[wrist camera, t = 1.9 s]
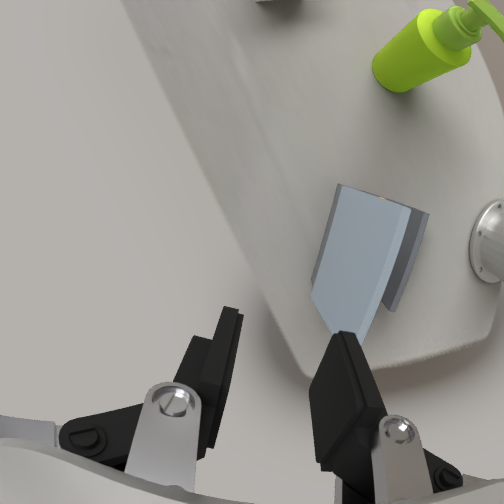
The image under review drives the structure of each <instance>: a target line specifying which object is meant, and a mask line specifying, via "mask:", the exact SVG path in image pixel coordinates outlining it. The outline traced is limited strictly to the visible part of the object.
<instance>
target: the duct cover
mask: <svg viewBox="0 0 504 504" xmlns="http://www.w3.org/2000/svg"><path fill="white" fill-rule="evenodd" d="M410 213H411V209H410V208H407V207H405V206H402V205H399V204H396V203H394V202H391V201H388V200H385V199H382V198H379V197H376V196H373V195H370V194H367V193H364V192H361V191H358V190H355V189H352V188H349V187H346V186H342V188H341V192H340V196H339V200H338V204H337V207H336V211H335V215H334V218H333V222H332V226H331V229H330V233H329V236H328V240H327V243H326V247H325V250H324V253H323V257H322V260H321V263H320V267H319V270H318V273H317V276H316V280H315V283H314V286H313V289H312V292H311V295H310V298H311V300H312V301H313V303H314V305H315V306H316V308H317V310H318V311H319V313H320V315H321V317H322V318H323V320H324V322H325V323H326V325H327V327H328V328H329V330H330V332H331V334H332V335H333V334H334V333H338V332H339V331H340V330H342V331H348V332H354V333H355V334H356V336H357V339H358V341H359V344H360V346H361V345H362V343H363V340H364V338H365V336H366V334H367V332H368V329H369V327H370V325H371V322H372V320H373V318H374V315H375V313H376V311H377V308H378V306H379V303H380V301H381V298H382V296H383V293H384V291H385V288H386V285H387V283H388V280H389V277H390V275H391V272H392V269H393V266H394V263H395V261H396V258H397V255H398V252H399V249H400V246H401V243H402V239H403V236H404V233H405V230H406V227H407V223H408V220H409V216H410Z"/></svg>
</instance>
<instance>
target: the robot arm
mask: <svg viewBox="0 0 504 504" xmlns="http://www.w3.org/2000/svg"><path fill="white" fill-rule="evenodd" d="M470 260H471V265H472V267H473V270H474V272H475V273H476V275H477V276H478V277H479V278H480V279H482V280H483V281H485V282H488V283H496V282H499V281H501V280H502V281H504V200H496V201H494V202H492V203H490V204H489V205H488V206H486V207H485V209H484V210H483V211H482V212H481V214H480V215H479V217H478V219H477V221H476V223H475V225H474V228H473V231H472V235H471V240H470ZM238 311H239V309H235V308H231V307H226V306H224V307H223V310H222V313H221V316H220V319H219V322H218V325H217V328H216V331H215V334H214V336H213V340H210V339H207V338H202V337H198V336H195V335H194V336H193V338H192V339H191V342H190V344H189V346H188V348H187V351H186V353H185V355H184V357H183V360H182V362H181V364H180V367H179V369H178V371H177V374H176V376H175V378H174V380H173V382H164V383H160V384H157V385H154V386H153V387H152V388H151V389H149V391H148V393H147V395H146V398H145V401H144V403H142V404H138V405H134V406H130V407H126V408H122V409H118V410H114V411H109V412H105V413H100V414H96V415H91V416H86V417H81V418H76V419H73V420H70V421H68V422H67V423H65V424H64V425H63V426H60V425H55V423H54V422H51V421H40V420H31V419H22V418H15V417H8V416H2V415H0V504H253V503H245V502H238V501H231V500H225V499H219V498H214V497H209V496H204V495H199V494H195V493H194V485H195V472H196V471H195V470H196V461H197V460H199V459H202V458H204V457H205V453H206V448H212V449H213V448H214V446H215V442H216V438H217V434H218V430H219V427H220V423H221V419H222V415H223V411H224V407H225V404H226V400H227V396H228V392H229V387H230V383H231V378H232V372H233V368H234V363H235V358H236V353H237V348H238V342H239V337H240V332H241V327H242V322H243V316H244V315H243V314H239V313H238ZM309 400H310V409H311V417H312V426H313V436H314V446H315V456H316V462H317V463H320V464H321V471H328V472H333V473H334V474H335V475H336V479H335V501H334V504H504V479H491V480H486V479H481V478H477V477H473V476H470V475H466V474H463V475H461V473H460V472H459V471H458V469H456V468H455V467H454V466H452V465H451V464H449V463H447V462H446V461H443V460H442V459H441V458H439V457H437V456H435V455H433V454H432V453H430V452H429V451H427V450H426V449H424V448H422V444H421V440H420V436H419V433H418V430H417V428H416V426H415V425H414V424H413V423H412V422H411V421H410V420H408V419H407V418H405V417H403V416H399V415H388V414H387V411H386V409H385V406H384V403H383V401H382V398H381V396H380V393H379V390H378V388H377V385H376V383H375V380H374V378H373V375H372V373H371V370H370V368H369V365H368V363H367V360H366V358H365V355H364V353H363V351H362V348H361V346H360V344H359V341H358V339H357V336H356V334H355V333H354V332H348V331H342V330H340V331H339V332H338V333H334V334H333V335H332V337H331V340H330V342H329V344H328V347H327V349H326V352H325V354H324V356H323V359H322V361H321V363H320V365H319V368H318V370H317V372H316V374H315V377H314V379H313V381H312V383H311V386H310V388H309Z"/></svg>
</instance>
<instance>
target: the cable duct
mask: <svg viewBox="0 0 504 504" xmlns="http://www.w3.org/2000/svg"><path fill="white" fill-rule="evenodd" d="M342 186H344V185H340V184H338V185H337V189H336V193H335V197H334V201H333V205H332V208H331V212H330V216H329V220H328V223H327V227H326V230H325V234H324V237H323V241H322V244H321V248H320V251H319V255H318V258H317V261H316V265H315V268H314V271H313V275H312V278H311V281H312V284H313V286H314V283H315V280H316V276H317V273H318V270H319V267H320V263H321V260H322V257H323V253H324V250H325V247H326V243H327V240H328V236H329V233H330V229H331V226H332V222H333V218H334V215H335V211H336V207H337V204H338V200H339V196H340V192H341V188H342ZM346 187H347V186H346ZM349 188H350V187H349ZM352 189H354V188H352ZM355 190H357V189H355ZM358 191H360V190H358ZM361 192H364V191H361ZM364 193H367V192H364ZM367 194H370V193H367ZM370 195H373V194H370ZM373 196H376V197H379V198H382V199H385V200H388V201H391V202H394V203H396V204H399V205H402V206H405V207H407V208H410V209H411V213H410V216H409V220H408V223H407V227H406V230H405V233H404V236H403V239H402V243H401V246H400V249H399V252H398V255H397V258H396V261H395V263H394V266H393V269H392V272H391V275H390V277H389V280H388V283H387V285H386V288H385V291H384V293H383V296H382V298H381V301H382V302H383V303H384V305H385V306H386V308H387V309H388V310H389V311H390V312H395V310H396V308H397V306H398V303H399V301H400V298H401V296H402V293H403V291H404V288H405V286H406V283H407V281H408V278H409V275H410V273H411V270H412V267H413V264H414V262H415V259H416V256H417V253H418V250H419V247H420V244H421V241H422V238H423V234H424V231H425V228H426V225H427V221H428V218H429V214H428V213H425V212H423V211H420V210H418V209H415V208H412V207H410V206H407V205H404V204H401V203H398V202H395V201H392V200H389V199H386V198H383V197H380V196H377V195H373Z"/></svg>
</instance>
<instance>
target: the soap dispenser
mask: <svg viewBox="0 0 504 504" xmlns="http://www.w3.org/2000/svg"><path fill="white" fill-rule="evenodd" d="M467 4H468V5H469V6H470V8H469V9H467V10H466V9H464V8H462V7H459V6H452V7H450V8H449V9H448V10H446V11H445V12H442V11H440V10H437V9H425V10H423V11H421V12H420V13H419V14H418V15H417V16H416V17H415V18H414V19H413V20H412V21H411V22H409V23H408V24H407V25H406V26H405V27H404V28H403V29H402V30H401V31H400V32H399V33H398V34H397V35H396V36H395V37H394V38H393V39H392V40H391V41H390V42H389V43H388V44H387V45H386V46H385V47H384V48H382V49H381V50H380V51H379V52H378V53H377V54H376V56H375V57H374V59H373V62H372V69H373V73H374V75H375V77H376V79H377V80H378V82H379V83H380V84H381V85H382V86H383V87H385V88H386V89H388V90H390V91H393V92H397V93H402V92H406V91H408V90H410V89H412V88H414V87H416V86H418V85H421V84H423V83H425V82H427V81H429V80H431V79H433V78H436V77H438V76H440V75H442V74H445V73H447V72H449V71H451V70H454V69H456V68H458V67H461V66H463V65H465V64H466V63H468V61H469V60H470V57H471V45H473V44H475V43H477V42H479V41H480V40H481V38H482V31H481V27H483V26H485V25H487V24H489V26H490V27H491V28H492V29H493V30H494V31H495V32H496V33H497V34H498V35H499V37H500V38H501V39H502V40H503V42H504V17H503V16H502V15H501V14H500V13H499V12H498V10H497V9H496V8H495V7H493V5H492V4H490V3H489V2H488V1H487V0H469V1H468V3H467Z"/></svg>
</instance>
